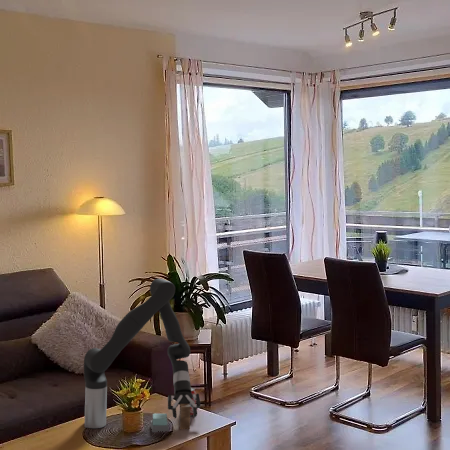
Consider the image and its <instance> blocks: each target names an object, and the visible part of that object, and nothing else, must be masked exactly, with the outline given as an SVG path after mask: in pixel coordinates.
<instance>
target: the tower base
mask: <svg viewBox="0 0 450 450" xmlns="http://www.w3.org/2000/svg"><path fill="white" fill-rule="evenodd" d="M169 428H170V427H169V422H168V421H167V425H153V419H152V420H150V429H152V430H151V433H166V432H165V431H168V432H169V430H170V429H169ZM158 431H159V432H158ZM160 431H161V432H160ZM162 431H163V432H162Z"/></svg>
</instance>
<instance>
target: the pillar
mask: <svg viewBox="0 0 450 450" xmlns="http://www.w3.org/2000/svg"><path fill="white" fill-rule="evenodd" d="M178 419H179V420H178V421H179V424H178V425H179V426H178V427H179V429H180V430H190V429H191V416H190V405H189V404H180V405H179V418H178Z"/></svg>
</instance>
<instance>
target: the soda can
mask: <svg viewBox="0 0 450 450" xmlns="http://www.w3.org/2000/svg"><path fill="white" fill-rule="evenodd" d="M191 393H192V395H196V394H197V393H196V389H195V387H192V386H191ZM192 400H193V402H194V403H195V404H196V405H197V403H196V400H195V399H194V398H192ZM192 416H194V414H193V408H192V407H190V417H192Z"/></svg>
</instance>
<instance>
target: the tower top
mask: <svg viewBox="0 0 450 450" xmlns="http://www.w3.org/2000/svg"><path fill="white" fill-rule="evenodd" d="M152 420H153V425H167V422H168V414H167V413H152Z"/></svg>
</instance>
